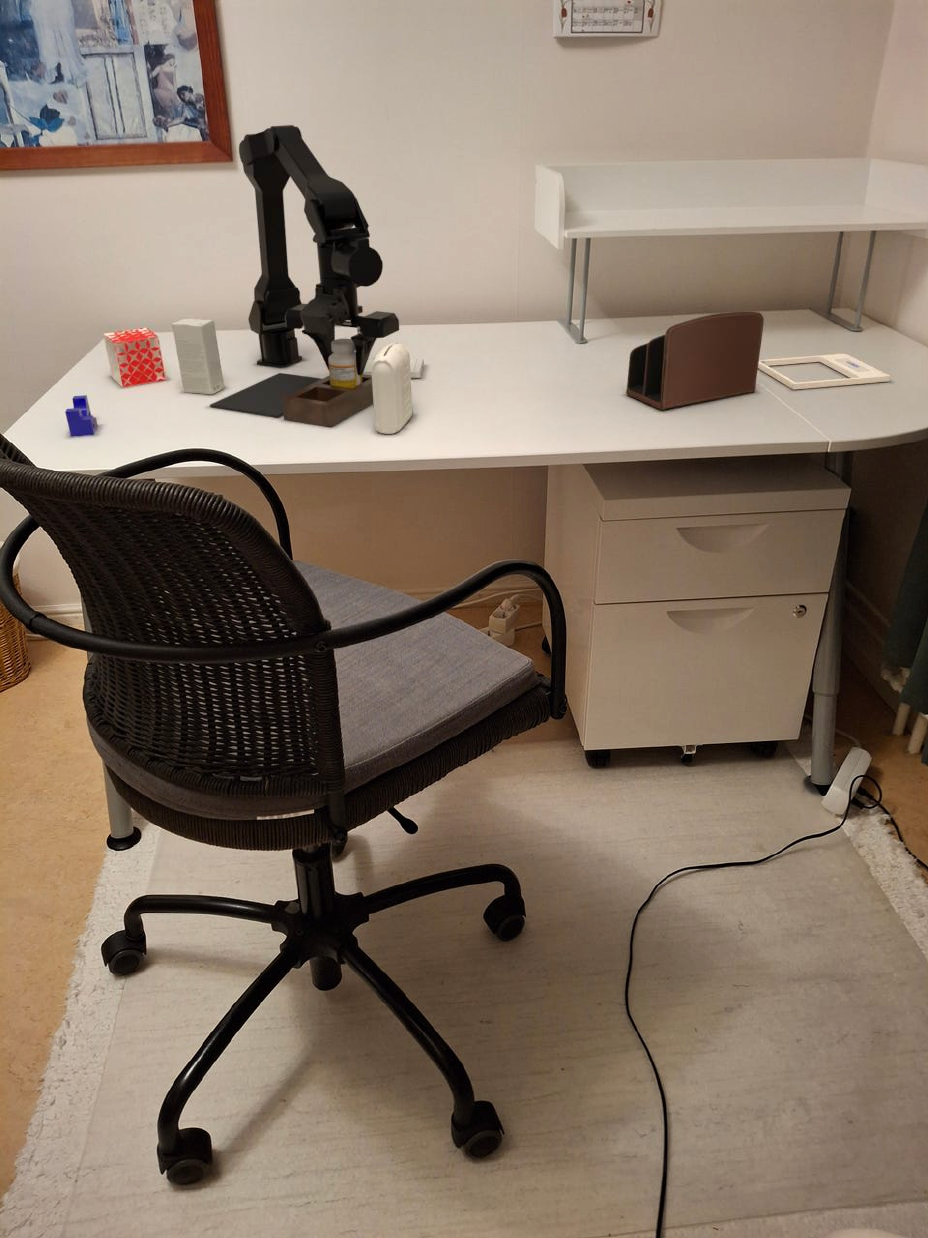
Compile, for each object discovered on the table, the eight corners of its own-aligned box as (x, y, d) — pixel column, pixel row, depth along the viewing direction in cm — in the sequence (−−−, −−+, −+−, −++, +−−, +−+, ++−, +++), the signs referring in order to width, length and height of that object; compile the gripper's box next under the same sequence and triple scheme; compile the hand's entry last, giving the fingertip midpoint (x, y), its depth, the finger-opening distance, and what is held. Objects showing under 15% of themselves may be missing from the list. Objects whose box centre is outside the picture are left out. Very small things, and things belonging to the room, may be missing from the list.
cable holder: (94, 434, 152) (88, 410, 150) (71, 436, 151) (65, 411, 149) (101, 418, 158) (96, 394, 156) (79, 419, 158) (73, 396, 156)
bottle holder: (283, 419, 156) (281, 398, 154) (339, 390, 169) (338, 370, 167) (331, 427, 152) (329, 405, 151) (385, 396, 165) (383, 376, 163)
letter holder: (755, 392, 163) (767, 307, 156) (661, 411, 156) (669, 323, 149) (717, 377, 171) (726, 295, 164) (625, 395, 163) (631, 310, 156)
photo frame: (890, 374, 166) (794, 382, 163) (889, 381, 167) (793, 389, 164) (845, 352, 179) (755, 359, 176) (844, 358, 179) (754, 365, 176)
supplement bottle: (346, 392, 167) (341, 335, 162) (370, 397, 164) (366, 339, 159) (325, 400, 163) (319, 342, 158) (349, 406, 160) (344, 347, 155)
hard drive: (351, 370, 173) (420, 369, 173) (357, 358, 180) (423, 357, 180) (352, 379, 174) (420, 379, 174) (358, 366, 181) (423, 365, 181)
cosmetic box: (225, 388, 171) (215, 319, 165) (212, 395, 168) (201, 325, 162) (196, 385, 173) (184, 317, 167) (182, 392, 170) (170, 323, 163)
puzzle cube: (166, 380, 176) (158, 336, 172) (122, 387, 173) (113, 343, 169) (154, 369, 182) (146, 327, 178) (112, 376, 179) (103, 333, 175)
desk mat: (210, 407, 162) (209, 404, 162) (279, 374, 178) (279, 372, 177) (278, 417, 157) (277, 415, 157) (344, 383, 172) (343, 381, 172)
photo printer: (390, 412, 158) (385, 336, 152) (415, 414, 157) (412, 337, 151) (372, 434, 149) (366, 354, 143) (398, 435, 149) (394, 355, 142)
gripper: (259, 280, 150) (271, 379, 158) (361, 290, 143) (368, 393, 151) (300, 267, 159) (309, 361, 167) (398, 276, 152) (403, 374, 160)
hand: (345, 372), depth 161 cm, fingers closed on supplement bottle, 5 cm apart
